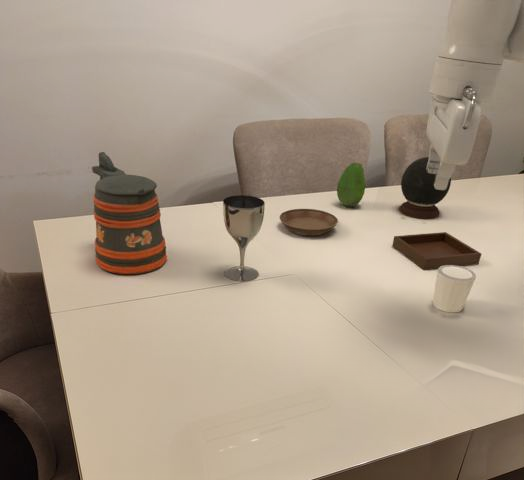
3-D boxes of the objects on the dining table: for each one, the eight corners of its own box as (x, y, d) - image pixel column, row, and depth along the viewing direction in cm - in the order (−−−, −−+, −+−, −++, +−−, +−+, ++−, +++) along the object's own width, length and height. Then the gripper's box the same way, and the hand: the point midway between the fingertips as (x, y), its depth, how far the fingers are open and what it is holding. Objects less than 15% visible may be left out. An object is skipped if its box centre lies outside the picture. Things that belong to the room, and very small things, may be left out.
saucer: (295, 242, 120) (296, 231, 118) (269, 221, 131) (270, 211, 129) (347, 235, 125) (349, 225, 123) (318, 216, 136) (319, 206, 135)
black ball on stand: (396, 202, 150) (407, 149, 141) (442, 208, 147) (455, 155, 139) (394, 216, 139) (405, 160, 131) (443, 223, 136) (457, 166, 128)
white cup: (432, 293, 100) (441, 261, 97) (468, 302, 98) (478, 269, 94) (426, 308, 95) (434, 274, 91) (463, 317, 93) (474, 283, 89)
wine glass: (257, 284, 100) (260, 210, 92) (218, 279, 101) (218, 205, 93) (263, 267, 107) (267, 197, 98) (227, 263, 108) (228, 193, 99)
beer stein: (74, 250, 109) (57, 155, 98) (133, 236, 117) (124, 146, 106) (118, 282, 98) (105, 177, 87) (180, 263, 106) (176, 166, 95)
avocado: (367, 206, 145) (374, 163, 139) (352, 212, 140) (359, 168, 134) (344, 199, 150) (349, 157, 143) (329, 205, 144) (334, 162, 138)
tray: (443, 241, 125) (445, 231, 123) (478, 264, 114) (481, 253, 113) (391, 246, 120) (394, 236, 119) (423, 270, 110) (426, 259, 108)
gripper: (502, 95, 63) (466, 202, 71) (471, 78, 80) (445, 167, 88) (452, 89, 64) (422, 196, 72) (432, 74, 81) (409, 162, 88)
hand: (435, 180), depth 80 cm, fingers open, 8 cm apart
